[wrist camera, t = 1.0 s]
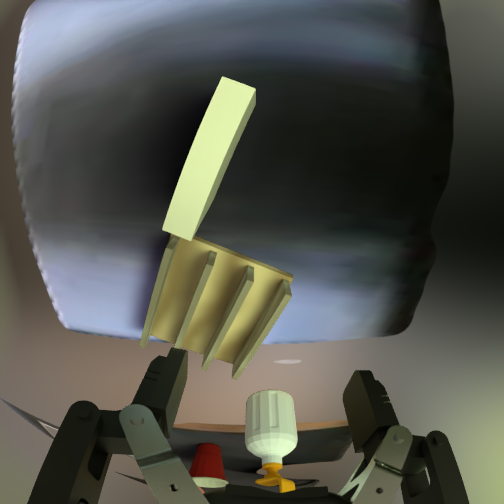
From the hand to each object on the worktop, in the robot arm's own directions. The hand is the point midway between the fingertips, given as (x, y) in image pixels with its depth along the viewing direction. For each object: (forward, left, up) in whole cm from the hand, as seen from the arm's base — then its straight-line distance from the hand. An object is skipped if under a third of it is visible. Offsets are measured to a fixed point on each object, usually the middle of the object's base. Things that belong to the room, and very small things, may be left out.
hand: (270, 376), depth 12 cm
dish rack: (-1, -14, -23) cm, 27 cm away
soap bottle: (+17, -32, -23) cm, 43 cm away
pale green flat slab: (-7, +6, -23) cm, 24 cm away
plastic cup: (+14, -61, -23) cm, 67 cm away
